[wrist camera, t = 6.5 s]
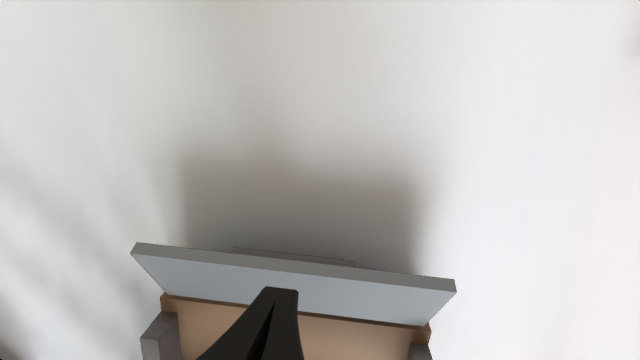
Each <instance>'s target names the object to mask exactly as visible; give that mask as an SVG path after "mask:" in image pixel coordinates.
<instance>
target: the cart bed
mask: <svg viewBox="0 0 640 360" xmlns="http://www.w3.org/2000/svg"><path fill="white" fill-rule="evenodd" d="M160 302H161V310H162V311H161V312H160V314H159V315H158V316H157V317H156V319H155V320H154V321H153V322H152V324H151V325H150V326H149V327H148V329H147V330H146V331H145V332H144V334H143V335H142V336H141V337H140V342H141V349H142V355H143V360H195V359H197V358H198V357H199V356H200V355H201V354H202V353H204V352H205V351H206V350H207V349H208V348H209V347H210V346H211V345H212V344H213V343H215V342H216V341H217V340H218V339H219V338H220V337H221V336H222V335H223V334H224V333H225V332H226V331H227V330H228V329H229V328H230V327H231V326H232V325H233V323H234V322H235V321H236V320H237V319H238V318H239V317H240V316H241V315H242V314H243V312H244V311H245V310H246V309H247V308H248V307H249V305H248V304H240V303H232V302H224V301H216V300H208V299H200V298H192V297H184V296H176V295H168V294H167V293H166V292H164V294H163V295H162V296H161V297H160ZM297 317H298V326H299V334H300V340H301V346H302V350H303V355H304V360H432V356H431V353H430V350H429V347H428V343H429V339H430V335H431V329H430V326H429V323H427V324H426V325H425V326H424V327H423V326H415V325H407V324H399V323H391V322H383V321H375V320H367V319H359V318H352V317H344V316H336V315H328V314H320V313H312V312H304V311H297Z"/></svg>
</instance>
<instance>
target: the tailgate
mask: <svg viewBox="0 0 640 360" xmlns="http://www.w3.org/2000/svg"><path fill="white" fill-rule="evenodd" d="M130 254H131V255H132V256H133V257H134V258H135V259H136V261H137V262H138V263H139V264H140V265H141V266H142V267H143V268H144V269H145V270H146V271H147V273H148V274H149V275H150V276H151V277H152V278H153V279H154V280H155V281H156V282H157V283H158V284H159V286H160V287H161V288H162V289H163V290H164V291H165V292H166V293H167V294H168V295H176V296H184V297H192V298H200V299H208V300H216V301H224V302H232V303H240V304H248V305H250V304H251V303H252V302H253V301H254V299H255V298H256V297H257V296H258V294H259V293H260V292H261V290H262V289H263V288H264V287H265V286H270V287H278V288H286V289H294V290H297V291H298V292H299V297H298V311H304V312H312V313H320V314H328V315H336V316H344V317H352V318H359V319H367V320H375V321H383V322H391V323H399V324H407V325H415V326H423V327H424V326H425V325H426V324H427V323H428V321H429V320H430V319H431V318H432V317H433V316H434V315H435V314H436V313H437V312H438V311H439V310H440V309H441V308H442V307H443V306H444V305H445V304H446V303H447V302H448V301H449V300H450V299H451V298H452V297H453V296H454V295H455V294H456V293H457V291H456V286H455V281H454V279H447V278H438V277H430V276H421V275H413V274H404V273H396V272H387V271H378V270H370V269H361V268H354V261H351V260H342V259H334V258H325V257H316V256H308V255H299V254H291V253H282V252H273V251H265V250H256V249H247V248H239V247H234V249H233V252H232V253H225V252H216V251H208V250H199V249H191V248H182V247H174V246H165V245H157V244H148V243H139V242H137V243H136V244H135V246H134V248H133V249H132V251H131V253H130Z"/></svg>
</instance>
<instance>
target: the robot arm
mask: <svg viewBox="0 0 640 360" xmlns="http://www.w3.org/2000/svg"><path fill="white" fill-rule="evenodd" d="M298 297H299V292H298V291H297V290H294V289H286V288H278V287H270V286H265V287H264V288H263V289H262V290H261V292H260V293H259V294H258V296H257V297H256V298H255V299H254V301H253V302H252V303H251V304H250V305H249V307H248V308H247V309H246V310H245V311H244V312H243V314H242V315H241V316H240V317H239V318H238V319H237V320H236V321H235V322H234V323H233V325H232V326H231V327H230V328H229V329H228V330H227V331H226V332H225V333H224V334H223V335H222V336H221V337H220V338H219V339H218V340H217V341H216V342H215V343H213V344H212V345H211V346H210V347H209V348H208V349H207V350H206V351H205V352H204V353H202V354H201V355H200V356H199V357H198V358H197V359H195V360H304V355H303V350H302V346H301V340H300V334H299V326H298V317H297V311H298Z"/></svg>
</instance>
